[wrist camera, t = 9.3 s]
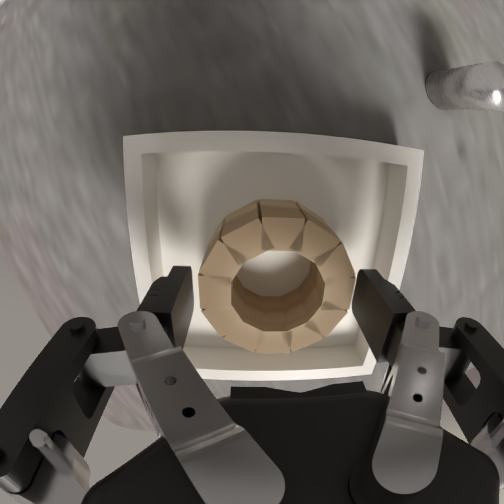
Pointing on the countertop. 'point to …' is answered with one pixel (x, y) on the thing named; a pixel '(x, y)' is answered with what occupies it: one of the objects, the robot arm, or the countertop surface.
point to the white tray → (270, 262)
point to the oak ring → (275, 307)
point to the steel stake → (468, 87)
